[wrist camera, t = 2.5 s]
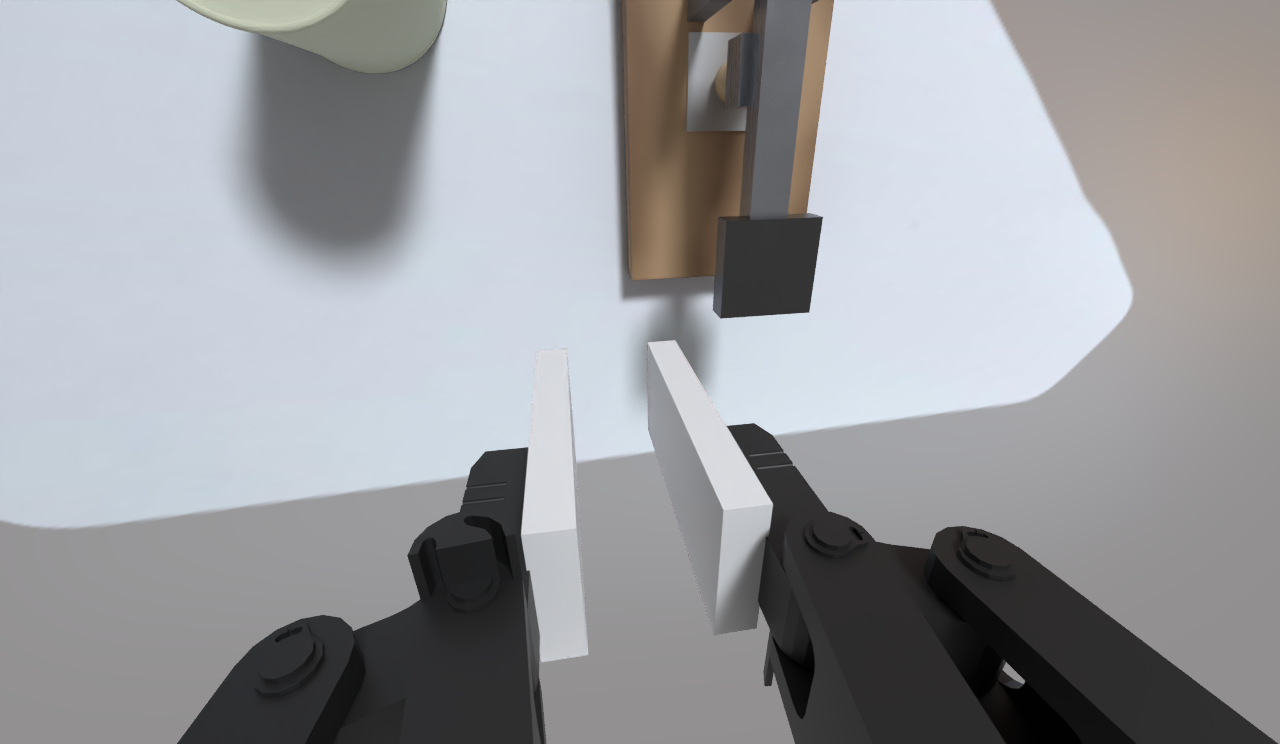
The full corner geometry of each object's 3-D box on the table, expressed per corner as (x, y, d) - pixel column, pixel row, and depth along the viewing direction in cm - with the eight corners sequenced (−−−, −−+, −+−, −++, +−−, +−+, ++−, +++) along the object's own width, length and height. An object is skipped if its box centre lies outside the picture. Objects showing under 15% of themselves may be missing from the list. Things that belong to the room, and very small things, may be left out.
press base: (628, 272, 35) (657, 325, 25) (620, -48, 27) (657, -155, 17) (787, 264, 36) (872, 310, 27) (823, -41, 29) (962, -135, 19)
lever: (698, 294, 30) (720, 318, 26) (712, -56, 22) (745, -97, 19) (776, 289, 30) (809, 312, 26) (814, -52, 23) (866, -91, 19)
